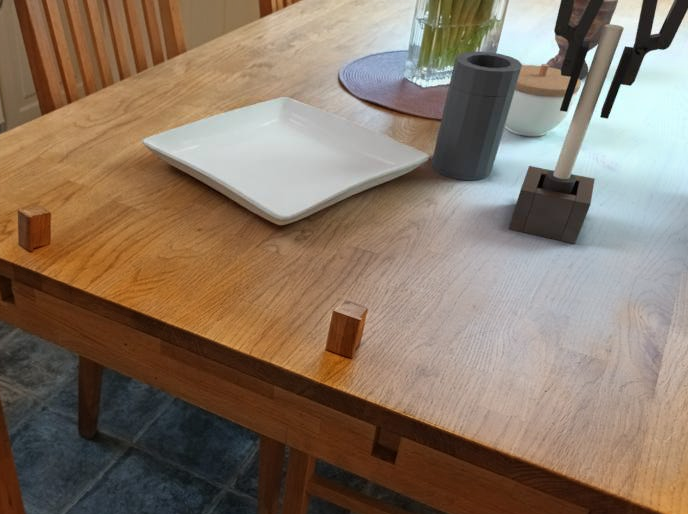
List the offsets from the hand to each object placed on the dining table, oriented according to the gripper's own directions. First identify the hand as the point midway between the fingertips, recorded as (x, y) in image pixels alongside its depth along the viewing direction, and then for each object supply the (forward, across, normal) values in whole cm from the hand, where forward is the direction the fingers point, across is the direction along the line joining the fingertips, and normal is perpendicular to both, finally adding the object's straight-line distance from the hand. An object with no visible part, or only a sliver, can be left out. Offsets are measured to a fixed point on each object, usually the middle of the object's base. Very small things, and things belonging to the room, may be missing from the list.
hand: (584, 110), depth 77 cm
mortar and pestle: (+14, -3, +63) cm, 65 cm away
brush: (+14, 0, 0) cm, 14 cm away
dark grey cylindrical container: (+14, -12, +11) cm, 21 cm away
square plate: (+14, -33, -2) cm, 36 cm away
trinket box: (+14, -6, +30) cm, 34 cm away
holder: (+14, 0, 0) cm, 14 cm away
